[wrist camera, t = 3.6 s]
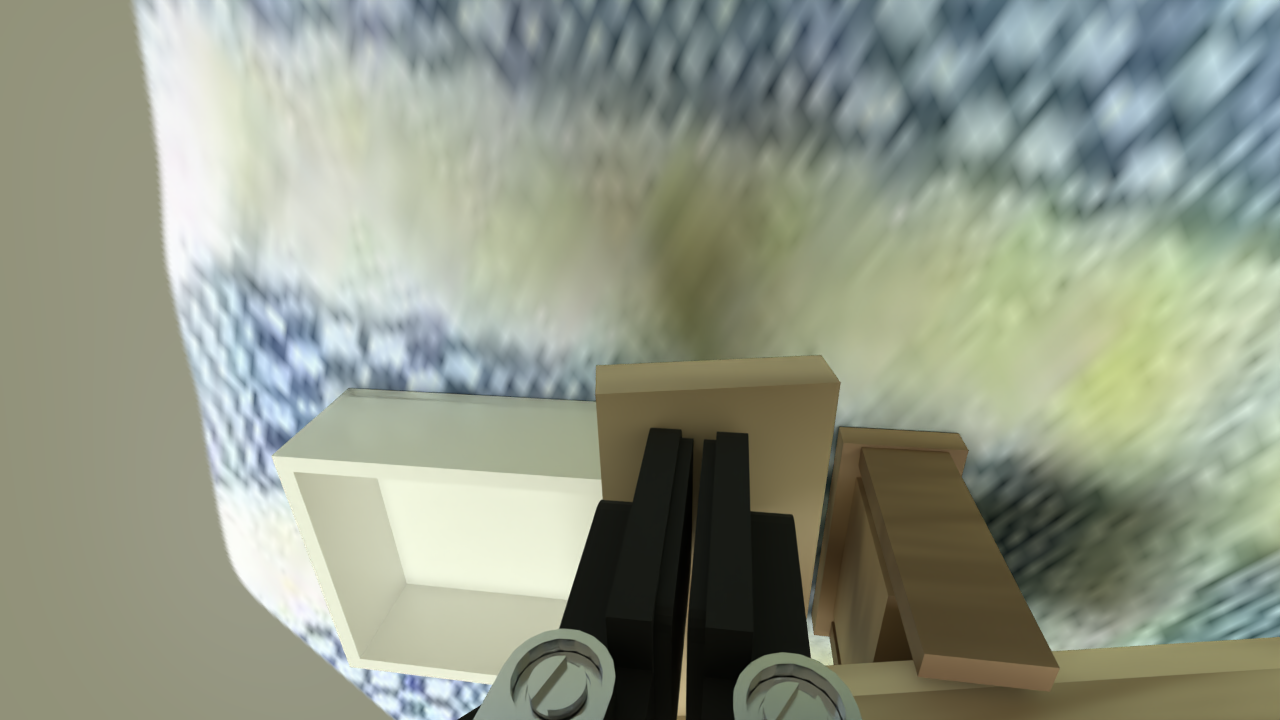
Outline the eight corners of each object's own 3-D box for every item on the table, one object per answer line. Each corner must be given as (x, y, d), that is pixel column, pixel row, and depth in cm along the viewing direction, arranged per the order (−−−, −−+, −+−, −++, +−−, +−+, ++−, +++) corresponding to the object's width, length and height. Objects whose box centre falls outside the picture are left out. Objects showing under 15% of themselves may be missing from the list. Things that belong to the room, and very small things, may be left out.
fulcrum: (839, 426, 22) (897, 647, 14) (959, 433, 21) (1091, 668, 13) (811, 614, 26) (842, 865, 18) (909, 624, 25) (986, 887, 17)
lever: (519, 336, 12) (478, 476, 8) (1497, 293, 12) (1901, 403, 9) (578, 789, 19) (571, 978, 15) (1198, 746, 20) (1343, 917, 16)
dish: (348, 388, 24) (271, 455, 20) (654, 404, 22) (636, 482, 18) (403, 581, 29) (350, 666, 25) (658, 607, 27) (644, 703, 23)
